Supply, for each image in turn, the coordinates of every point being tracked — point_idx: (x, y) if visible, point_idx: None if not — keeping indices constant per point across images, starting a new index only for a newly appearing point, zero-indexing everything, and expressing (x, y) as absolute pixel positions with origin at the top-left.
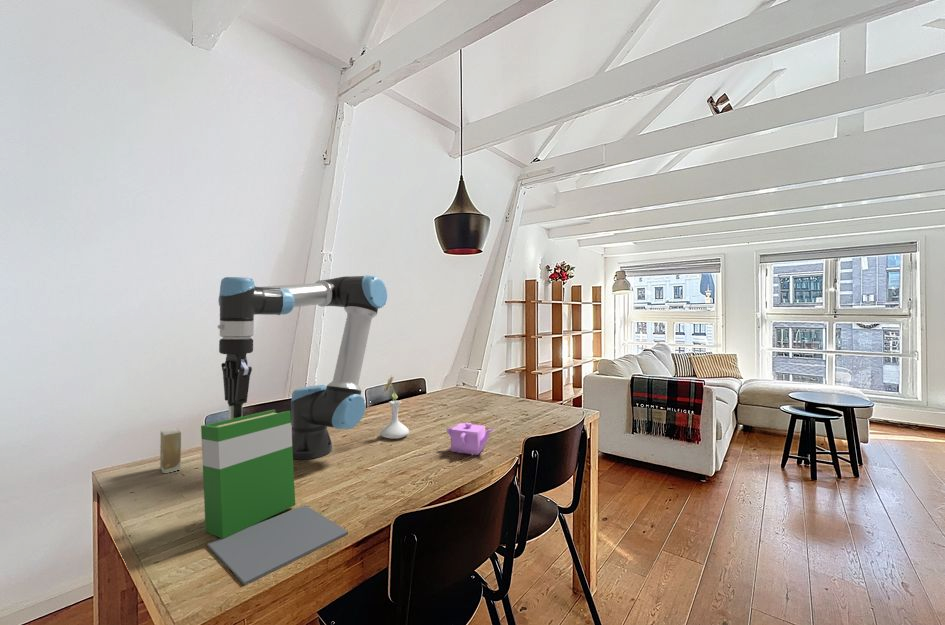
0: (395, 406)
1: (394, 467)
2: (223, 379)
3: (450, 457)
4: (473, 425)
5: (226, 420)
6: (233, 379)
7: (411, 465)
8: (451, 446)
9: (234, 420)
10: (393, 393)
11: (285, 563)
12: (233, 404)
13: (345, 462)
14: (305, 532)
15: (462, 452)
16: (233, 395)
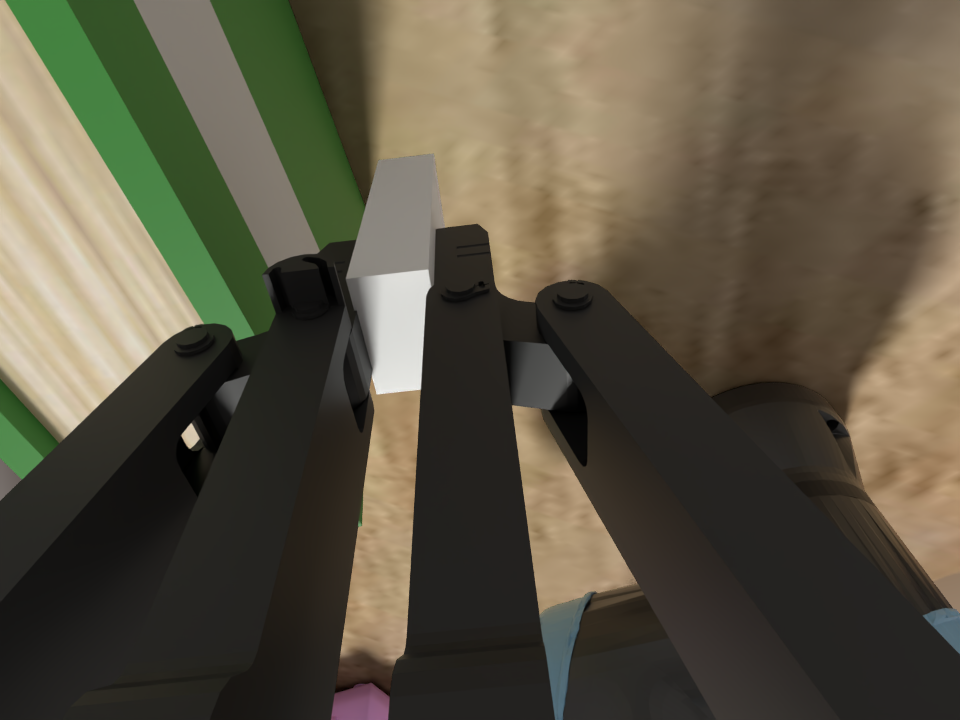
0: None
1: (382, 563)
2: (830, 526)
3: (346, 665)
4: None
5: (106, 124)
6: (139, 672)
7: (363, 594)
8: (368, 698)
9: (143, 205)
10: None
11: None
12: (277, 307)
13: (537, 493)
14: None
15: (339, 692)
16: (252, 389)
